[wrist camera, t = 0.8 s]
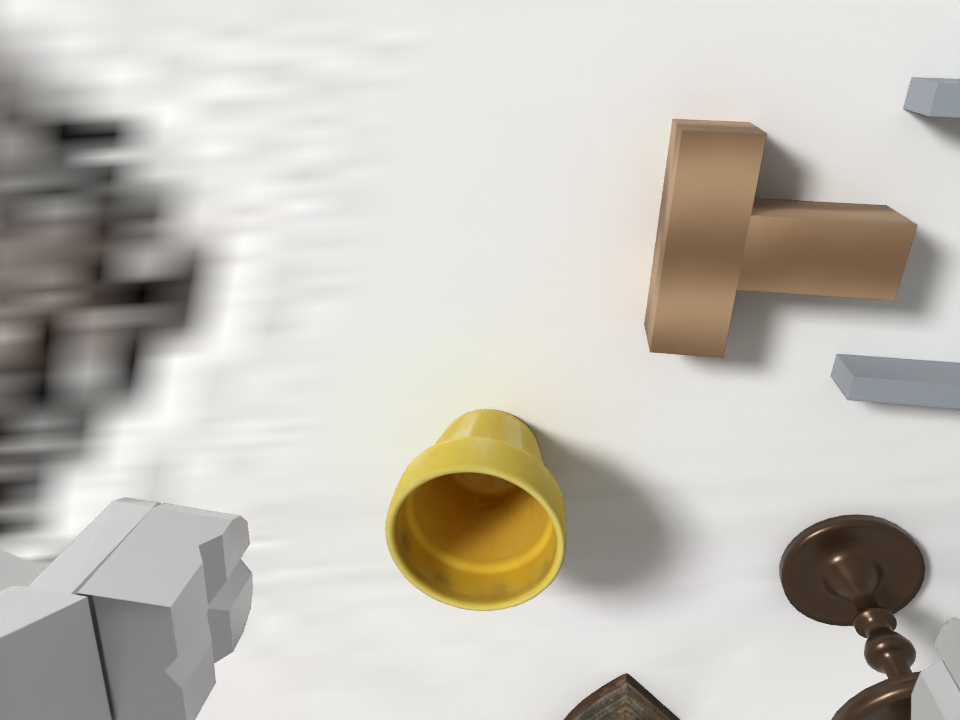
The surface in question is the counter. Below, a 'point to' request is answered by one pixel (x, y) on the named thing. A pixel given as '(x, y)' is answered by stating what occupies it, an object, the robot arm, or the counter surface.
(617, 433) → the counter surface
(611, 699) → the clothes iron
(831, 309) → the counter surface
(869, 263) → the t block
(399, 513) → the plant pot
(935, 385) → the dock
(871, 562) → the candlestick
